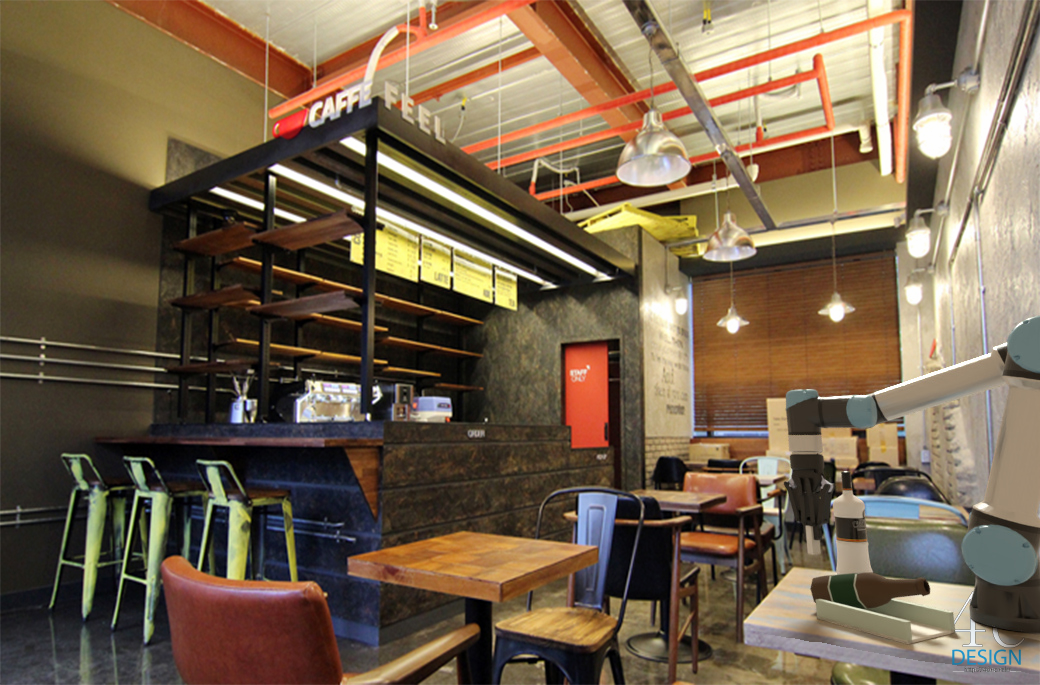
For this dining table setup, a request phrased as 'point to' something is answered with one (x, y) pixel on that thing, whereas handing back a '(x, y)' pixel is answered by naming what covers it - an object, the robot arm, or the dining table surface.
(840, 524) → the vodka
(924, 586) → the beer bottle
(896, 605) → the rest
